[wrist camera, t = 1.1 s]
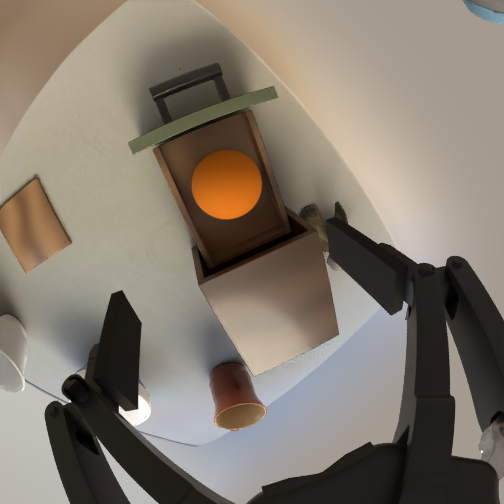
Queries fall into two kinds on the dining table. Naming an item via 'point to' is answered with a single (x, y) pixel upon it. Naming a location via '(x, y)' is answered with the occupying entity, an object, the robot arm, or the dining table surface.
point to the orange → (226, 184)
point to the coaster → (32, 226)
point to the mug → (234, 397)
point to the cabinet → (273, 297)
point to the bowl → (143, 404)
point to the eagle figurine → (323, 227)
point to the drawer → (201, 145)
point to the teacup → (12, 354)
